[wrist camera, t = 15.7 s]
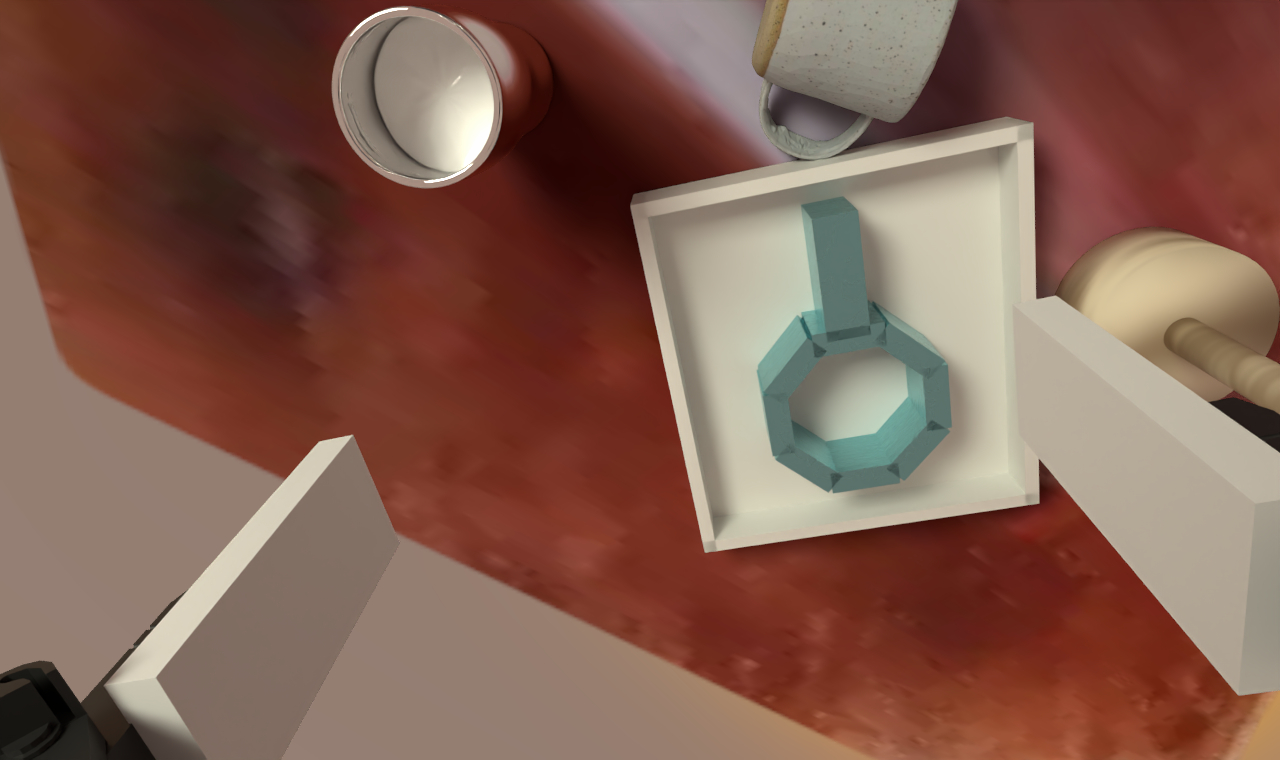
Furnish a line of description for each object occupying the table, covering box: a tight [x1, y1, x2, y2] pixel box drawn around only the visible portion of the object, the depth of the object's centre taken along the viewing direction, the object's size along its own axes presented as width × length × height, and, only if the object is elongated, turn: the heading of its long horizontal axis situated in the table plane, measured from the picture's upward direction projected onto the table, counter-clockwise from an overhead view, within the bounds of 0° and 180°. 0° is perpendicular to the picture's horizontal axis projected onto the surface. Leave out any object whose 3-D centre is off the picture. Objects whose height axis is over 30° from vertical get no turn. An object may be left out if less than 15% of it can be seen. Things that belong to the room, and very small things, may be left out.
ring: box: [757, 196, 952, 493], centre depth 46 cm, size 17×10×4 cm, turn 12°
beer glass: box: [332, 4, 554, 188], centre depth 36 cm, size 7×7×15 cm
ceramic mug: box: [752, 0, 958, 160], centre depth 39 cm, size 11×8×8 cm
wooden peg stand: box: [1055, 227, 1280, 414], centre depth 39 cm, size 10×10×17 cm
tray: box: [630, 117, 1039, 553], centre depth 47 cm, size 23×21×4 cm
